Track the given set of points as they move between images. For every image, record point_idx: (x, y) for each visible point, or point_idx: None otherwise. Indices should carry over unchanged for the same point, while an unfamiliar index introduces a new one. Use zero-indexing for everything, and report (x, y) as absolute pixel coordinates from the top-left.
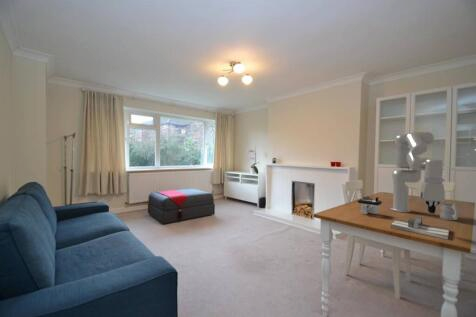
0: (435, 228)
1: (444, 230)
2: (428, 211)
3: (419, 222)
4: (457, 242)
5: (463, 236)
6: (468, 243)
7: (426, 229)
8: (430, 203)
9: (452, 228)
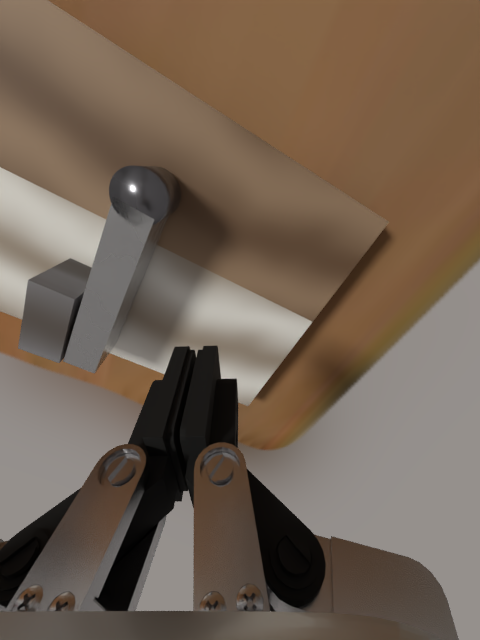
0: (245, 293)
1: (286, 323)
2: (174, 349)
3: (119, 317)
4: (271, 413)
5: (376, 322)
6: (314, 412)
7: (171, 335)
8: (126, 568)
9: (470, 115)
